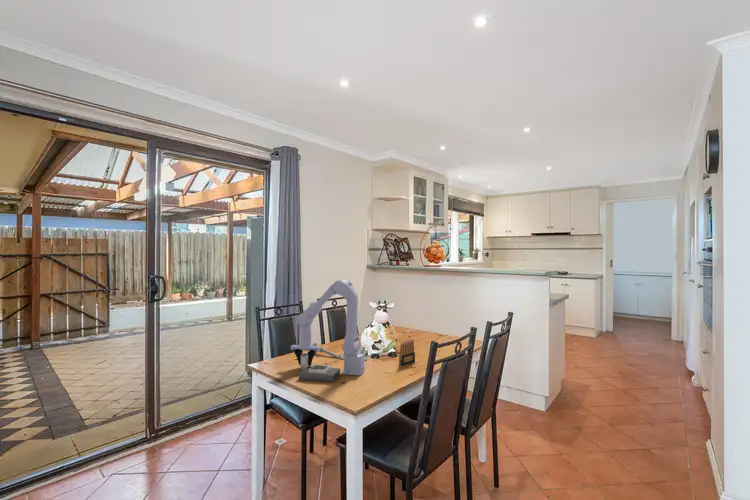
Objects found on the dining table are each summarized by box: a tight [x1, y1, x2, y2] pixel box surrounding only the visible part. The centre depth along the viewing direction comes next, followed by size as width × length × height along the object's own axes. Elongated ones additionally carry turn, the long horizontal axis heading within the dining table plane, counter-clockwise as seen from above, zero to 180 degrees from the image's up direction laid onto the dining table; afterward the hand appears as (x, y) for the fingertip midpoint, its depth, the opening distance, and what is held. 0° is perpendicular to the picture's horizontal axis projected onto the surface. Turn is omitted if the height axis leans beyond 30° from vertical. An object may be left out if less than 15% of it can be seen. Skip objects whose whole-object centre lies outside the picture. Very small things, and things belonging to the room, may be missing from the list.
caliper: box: [312, 342, 341, 360], centre depth 197 cm, size 20×1×6 cm, turn 58°
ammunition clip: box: [398, 338, 416, 367], centre depth 184 cm, size 11×2×12 cm, turn 135°
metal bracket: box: [339, 346, 369, 362], centre depth 196 cm, size 14×6×15 cm
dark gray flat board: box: [298, 363, 341, 384], centre depth 162 cm, size 16×10×4 cm, turn 78°
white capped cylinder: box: [300, 352, 308, 370], centre depth 176 cm, size 4×4×7 cm
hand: (305, 365), depth 176 cm, fingers closed on white capped cylinder, 4 cm apart
